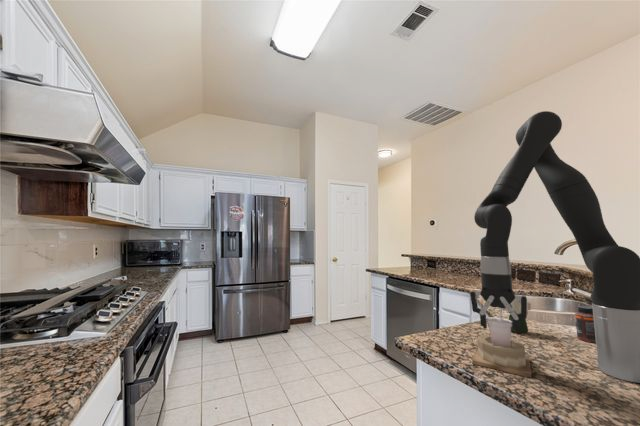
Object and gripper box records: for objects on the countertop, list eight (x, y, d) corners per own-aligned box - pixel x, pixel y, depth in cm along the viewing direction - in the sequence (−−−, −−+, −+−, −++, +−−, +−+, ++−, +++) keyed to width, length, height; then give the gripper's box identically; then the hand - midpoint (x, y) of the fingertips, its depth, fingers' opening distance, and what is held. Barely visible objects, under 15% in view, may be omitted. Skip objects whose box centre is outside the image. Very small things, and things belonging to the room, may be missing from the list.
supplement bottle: (606, 343, 90) (602, 309, 91) (588, 343, 90) (585, 309, 92) (589, 337, 96) (586, 305, 97) (572, 337, 96) (569, 304, 97)
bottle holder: (529, 359, 77) (527, 340, 78) (531, 377, 67) (529, 355, 68) (477, 349, 85) (476, 331, 86) (472, 363, 75) (471, 343, 75)
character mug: (525, 328, 105) (522, 295, 107) (540, 335, 98) (537, 298, 100) (497, 328, 105) (495, 295, 107) (510, 334, 98) (507, 298, 100)
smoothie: (515, 362, 72) (511, 308, 73) (487, 356, 76) (484, 305, 77) (515, 354, 77) (511, 304, 78) (489, 348, 81) (486, 301, 82)
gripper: (525, 272, 78) (530, 331, 76) (469, 269, 86) (472, 322, 84) (526, 275, 72) (531, 339, 70) (466, 271, 80) (469, 328, 78)
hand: (499, 330), depth 77 cm, fingers open, 6 cm apart
